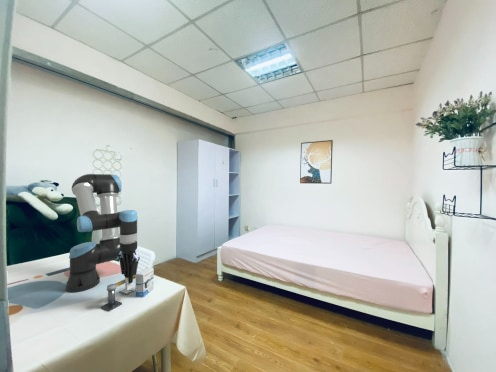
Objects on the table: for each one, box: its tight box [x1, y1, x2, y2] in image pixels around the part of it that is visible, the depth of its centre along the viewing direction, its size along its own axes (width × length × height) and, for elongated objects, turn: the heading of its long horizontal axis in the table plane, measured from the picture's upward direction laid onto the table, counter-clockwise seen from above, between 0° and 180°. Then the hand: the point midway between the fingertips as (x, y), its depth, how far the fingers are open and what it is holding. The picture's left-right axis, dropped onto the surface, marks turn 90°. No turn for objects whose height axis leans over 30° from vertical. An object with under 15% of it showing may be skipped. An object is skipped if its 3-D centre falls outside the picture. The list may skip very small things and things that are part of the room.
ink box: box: [135, 266, 155, 298], centre depth 109 cm, size 8×5×12 cm, turn 168°
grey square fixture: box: [100, 289, 123, 312], centre depth 97 cm, size 6×6×8 cm
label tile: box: [118, 289, 135, 297], centre depth 109 cm, size 6×4×1 cm, turn 66°
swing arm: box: [106, 275, 136, 292], centre depth 103 cm, size 4×18×2 cm, turn 156°
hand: (128, 288), depth 102 cm, fingers closed
